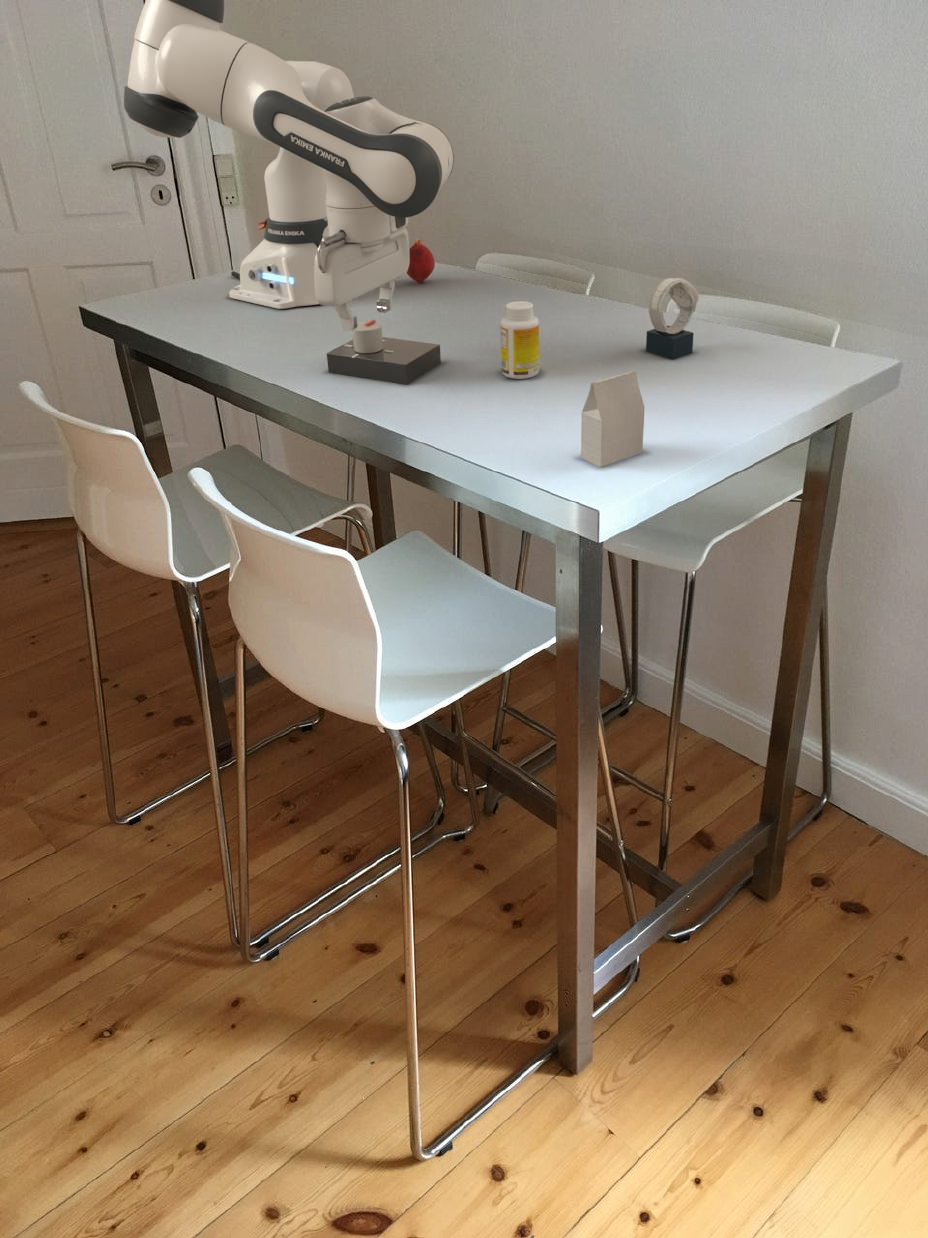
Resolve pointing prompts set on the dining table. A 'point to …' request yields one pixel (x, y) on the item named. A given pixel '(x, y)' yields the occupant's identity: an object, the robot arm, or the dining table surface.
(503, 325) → the supplement bottle
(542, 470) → the dining table surface
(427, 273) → the onion
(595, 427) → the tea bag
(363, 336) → the knob
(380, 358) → the hob
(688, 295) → the watch
